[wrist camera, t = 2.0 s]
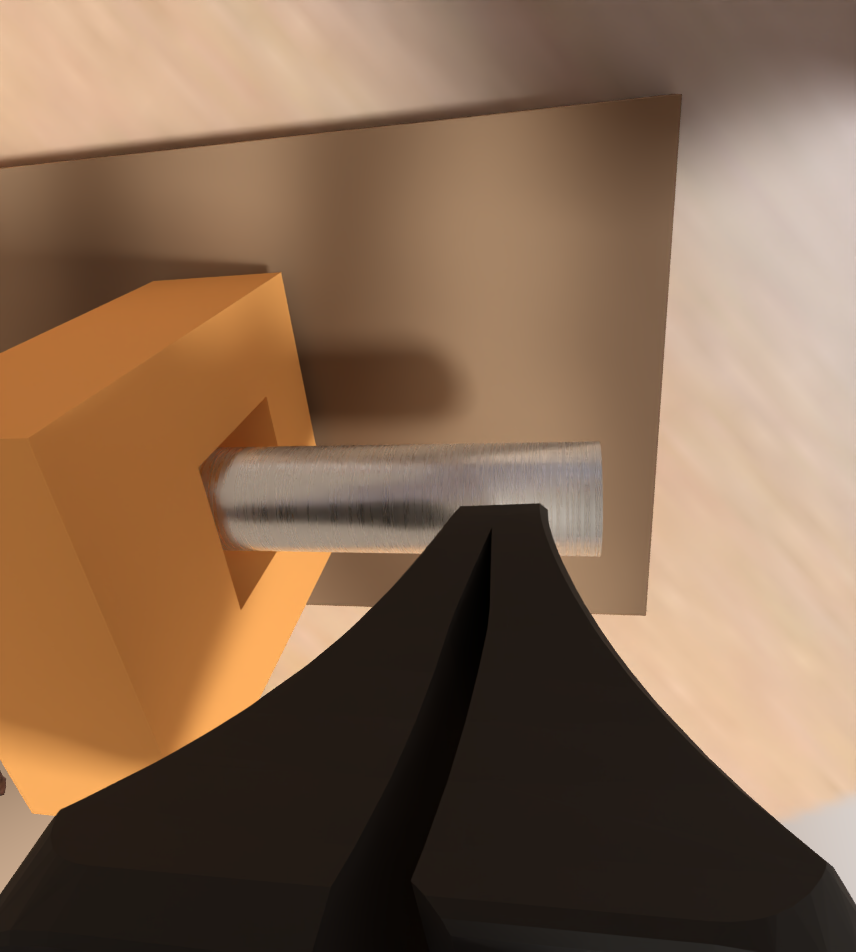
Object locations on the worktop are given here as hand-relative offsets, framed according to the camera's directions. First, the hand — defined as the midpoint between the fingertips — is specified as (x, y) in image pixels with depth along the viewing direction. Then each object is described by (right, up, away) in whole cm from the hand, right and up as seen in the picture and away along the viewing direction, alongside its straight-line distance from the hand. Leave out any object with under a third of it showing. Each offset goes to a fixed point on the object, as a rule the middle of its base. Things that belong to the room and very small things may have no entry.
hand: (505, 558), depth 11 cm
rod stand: (-9, +3, +8) cm, 12 cm away
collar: (-5, +3, +6) cm, 8 cm away
